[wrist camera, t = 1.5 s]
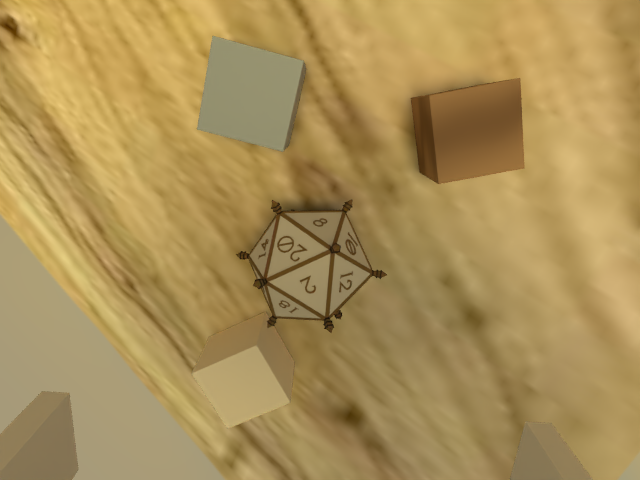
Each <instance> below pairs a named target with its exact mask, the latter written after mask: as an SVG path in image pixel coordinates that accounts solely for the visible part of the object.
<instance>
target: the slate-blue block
mask: <svg viewBox="0 0 640 480" xmlns="http://www.w3.org/2000/svg"><path fill="white" fill-rule="evenodd" d="M305 73H306V66H305V63H304V61H303V60H299V59H295V58H292V57H288V56H285V55H281V54H277V53H274V52H270V51H266V50H263V49H259V48H255V47H252V46H248V45H245V44H241V43H237V42H234V41H230V40H226V39H223V38H219V37H215V36H213V37H212V43H211V49H210V55H209V61H208V67H207V73H206V79H205V85H204V91H203V97H202V103H201V109H200V115H199V121H198V127H197V130H201V131H205V132H209V133H213V134H216V135H220V136H224V137H228V138H232V139H236V140H240V141H244V142H247V143H251V144H255V145H259V146H263V147H267V148H271V149H275V150H278V151H282V152H283V151H284V150H285V149H286V148H287V147H288V146H289V143H290V139H291V134H292V130H293V126H294V121H295V117H296V113H297V108H298V104H299V100H300V95H301V91H302V87H303V82H304V78H305Z"/></svg>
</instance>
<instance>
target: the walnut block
mask: <svg viewBox="0 0 640 480" xmlns="http://www.w3.org/2000/svg"><path fill="white" fill-rule="evenodd" d="M411 103H412V112H413V120H414V129H415V137H416V146H417V154H418V162H419V171H420V173H422V174H423V175H425V176H427V177H428V178H430V179H431V180H433V181H435V182H436V183H438V184H441V183H447V182H452V181H457V180H463V179H468V178H474V177H479V176H485V175H490V174H496V173H501V172H506V171H512V170H517V169H523V168H524V149H523V128H522V106H521V85H520V78H517V79H511V80H505V81H499V82H493V83H487V84H481V85H476V86H471V87H466V88H461V89H456V90H451V91H445V92H440V93H435V94H430V95H425V96H420V97H414V98H411Z"/></svg>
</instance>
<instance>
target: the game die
mask: <svg viewBox="0 0 640 480" xmlns="http://www.w3.org/2000/svg"><path fill="white" fill-rule="evenodd" d="M279 205H280V204H279V203H276V202H275V201H273V200H272V207H271V209H273V212H276V213H277V215H276V216H275V218H274V219H273V221H272V222H271V223H270V225H269V226H268V228H267V229H266V231H265V232H264V234H263V235H262V236H261V238H260V239H259V241H258V242H257V244H256V245H255V247H254V248H253V249H252V251H251V252H250V254H248V253H246V252H243V251H241V252H240V253H238V254H236V255H237V256H238V257H239V258H240V259H249V262H250V264H251V266H252V269H253V271H254V273H255V276H256V278H257V280H255V283H254V285H253V286H255V287H257V288H258V289H260V288H261V289H262V292H263V294H264V296H265V299H266V301H267V303H268V306H269V308H270V310H271V313H272V317H270V318H269V320H268V321H267V328H269V327H271V326H274V324H275V323H276V319H277V318H284V319H303V320H322V321H324V324H323V325H324V326H325V328H324V329H327V330H328V331H329V332H330V333H332V329H333V328H334V326H333V324H332V321H331V320H330V318H331V317H332V316H333V315H335V317H336V318H338V319H341V316H342V313H341V310H339V309H340V308H341V307H342V306H343V305H344V304H345V303H346V302H347V301H348V300H349V299H350V298H351V297H352V296H353V295H354V294H355V293H356V292H357V291H358V290H359V289H360V288H361V287H362V286H363V285H364V284H365V283H366V281H367V280H368V279H369V278H370V277H371V276H375V277H376V278H377V277H378V278H380V279H381V278H382V277H384V276H386V275H387V274H385V273H384V272H383V271H382V270H381V271H378V270H376V271H373V270H372V268H371V265H370V263H369V261H368V259H367V257H366V255H365V252H364V250H363V248H362V246H361V244H360V242H359V240H358V237H357V235H356V233H355V231H354V229H353V227H352V224H351V222H350V220H349V218H348V216H347V214H346V213H347V211H349V210H350V208H351V207H352V200H350V201H348V202H345V204H344V205H343V209H342V210H318V211H294V210H291V211H281V207H280V206H279Z"/></svg>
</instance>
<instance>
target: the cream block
mask: <svg viewBox="0 0 640 480" xmlns="http://www.w3.org/2000/svg"><path fill="white" fill-rule="evenodd" d="M268 320H269V317H268V315H267V313H266V312H263V313H261V314H259V315H257V316H254V317H252V318H250V319H248V320H245V321H243V322H241V323H239V324H236V325H234V326H232V327H230V328H227V329H225V330H223V331H221V332H218V333H216V334H214V335H212V336H210V337H209V338H208V340H207V342H206V344H205V346H204V348H203V351H202V353H201V355H200V357H199V359H198V361H197V363H196V365H195V367H194V369H193V371H192V373H191V374H192V376H193V377H194V379H195V380H196V382H197V383H198V385H199V386H200V388H201V389H202V391H203V392H204V394H205V395H206V397H207V398H208V400H209V401H210V403H211V404H212V406H213V407H214V409H215V410H216V412H217V414H218V415H219V417H220V418H221V420H222V421H223V423H224V424H225V426H226V427H227V429H228V428H231V427H233V426H235V425H238V424H240V423H243V422H245V421H248V420H250V419H253V418H255V417H257V416H260V415H262V414H265V413H267V412H270V411H272V410H274V409H277V408H279V407H282V406H284V405H287V404H289V403H291V395H292V385H293V374H294V364H295V362H294V360H293V359H292V357H291V355H290V353H289V352H288V350H287V348H286V346H285V345H284V343H283V341H282V339H281V338H280V336H279V334H278V332H277V331H276V329H275V327H274V326H271V327H269V328H267V321H268Z"/></svg>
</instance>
